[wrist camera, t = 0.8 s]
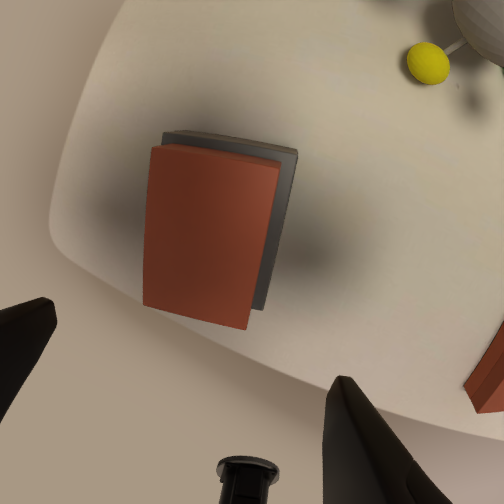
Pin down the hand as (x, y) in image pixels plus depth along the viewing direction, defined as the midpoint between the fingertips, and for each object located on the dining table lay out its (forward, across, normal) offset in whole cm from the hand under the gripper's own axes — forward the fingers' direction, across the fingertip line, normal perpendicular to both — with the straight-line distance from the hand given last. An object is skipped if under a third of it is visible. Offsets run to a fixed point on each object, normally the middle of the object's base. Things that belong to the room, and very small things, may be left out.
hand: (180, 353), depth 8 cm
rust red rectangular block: (+9, +1, -1) cm, 9 cm away
